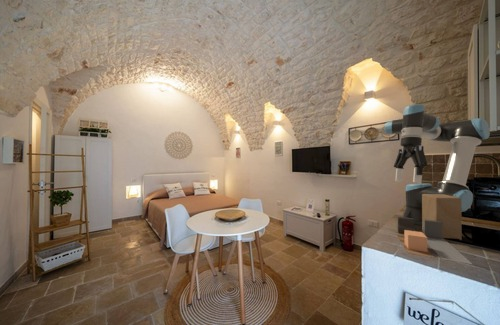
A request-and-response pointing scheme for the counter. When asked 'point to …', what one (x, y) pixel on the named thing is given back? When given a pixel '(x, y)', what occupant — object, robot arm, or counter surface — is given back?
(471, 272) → the counter surface
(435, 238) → the grey l-shaped block
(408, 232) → the terracotta cube
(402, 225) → the walnut strip
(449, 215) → the wooden block
